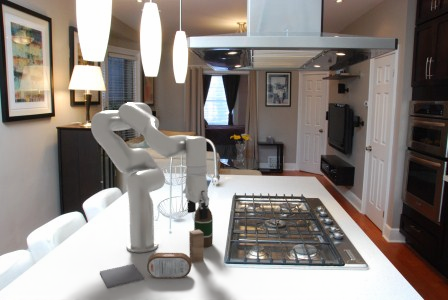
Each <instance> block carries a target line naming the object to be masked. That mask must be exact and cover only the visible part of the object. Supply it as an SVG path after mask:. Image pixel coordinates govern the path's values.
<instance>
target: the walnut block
mask: <svg viewBox="0 0 448 300" xmlns="http://www.w3.org/2000/svg"><path fill="white" fill-rule="evenodd" d="M188 233H189V234H188V235H189V238H188V239H189V241H188V243H189V245H188V247H189V249H188V250H189V258H190V259H191V262H192V263H193V264H196V263H201V262H204V259H205V257H204V255H205V254H204V253H205V251H204V249H205V248H204V233H203V232H202V231H200V230H194V229H193V230H190V231H188Z"/></svg>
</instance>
